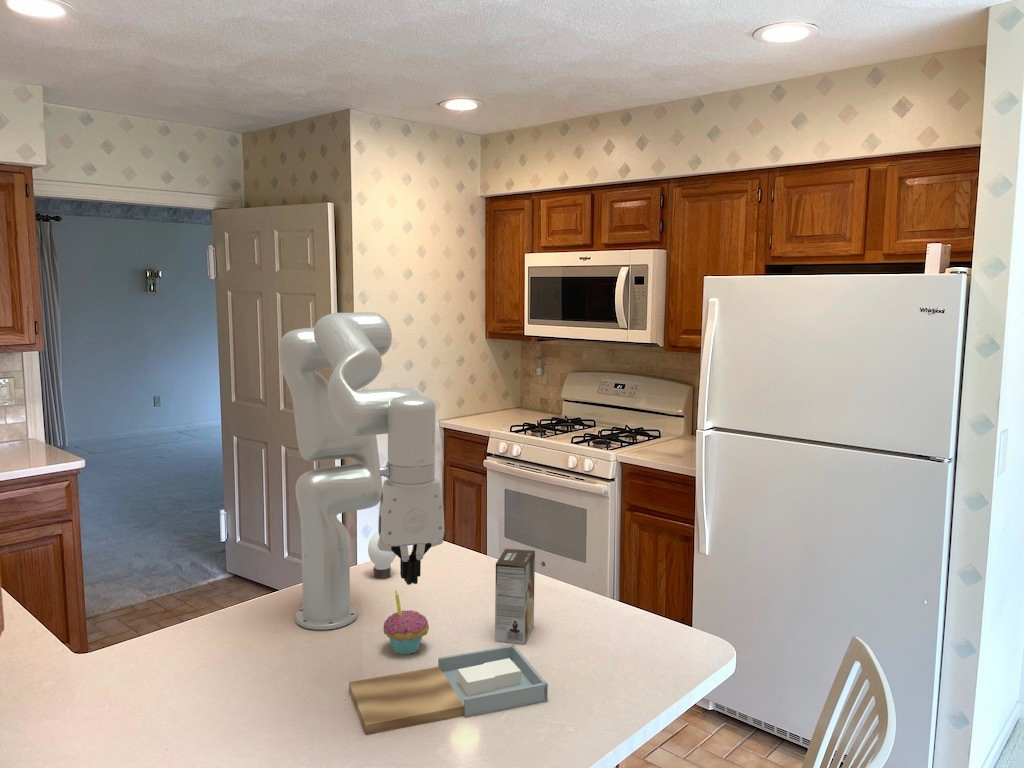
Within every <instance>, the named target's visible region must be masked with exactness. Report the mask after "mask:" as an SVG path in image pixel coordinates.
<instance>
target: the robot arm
mask: <svg viewBox="0 0 1024 768" xmlns="http://www.w3.org/2000/svg"><path fill="white" fill-rule="evenodd" d="M392 335H393V334H392V328H391V326H390V324H389V322H388V321H387V319H386V318H385V317H384V316H382V314H380V313H378V312H377V313H376V312H370V311H369V312H365V311H364V312H363V311H362V312H335V313H329V314H326V315H324V316H323V317H321V318H320V319H318V320H317V322H316V323H315V325H314V327H306V328H305V327H303V328H298V329H293V330H290V331H288V332H286V333H284V335H283V336H282V338H281V339H280V342H279V347H278V357H279V363H280V368H281V372H282V374H283V378H284V380H285V382H286V384H287V386H288V388H289V392H290V395H291V399H292V405H293V408H292V409H293V415H294V423H295V432H296V440H297V447H298V451H299V453H300V456H301V457H302V459H304V460H305V461H308V462H328V461H329V462H330V461H335V460H345V459H350V460H351V462H352V464H347V465H346V464H345V465H335V466H327V467H319V468H316V469H315V468H314V469H312V470H308V471H306V472H304V473H302V474H301V475H299V477H298V479H296V480H297V481H296V482H295V483H296V484H295V497H296V503H297V507H298V513H299V520H300V521H299V522H300V535H301V542H300V543H301V572H302V574H301V576H302V578H301V579H302V606H301V607H300V608H299V609H298V610H297V611H296V612H295V614H294V615H295V617H294V619H295V623H296V624H297V625H299V626H300V627H301V628H302V627H303V628H305V629H308V630H317V631H326V630H333V629H338V628H342V627H345V626H347V625H350V624H351V623H353V622H354V621H355V620H356V619H357V618H358V616H359V615H358V608H357V606H356V605H354V604H353V603H352V602H351V593H350V592H351V591H350V590H351V588H350V587H351V586H350V585H351V584H350V580H351V579H350V576H351V575H350V572H351V571H350V535H349V534H350V533H349V531H348V529H347V527H346V526H345V525H344V523H342V522H341V521H340V520H339V518H338V517H337V516H338V515H339V514H344V513H349V512H354V511H360V510H361V511H362V510H366V509H371V508H374V507H376V506H377V505H379V508H378V521H377V522H378V525H377V530H378V531H377V532H379V536H380V537H379V541H378V545H377V546H378V548H379V550H381V551H388V552H394V553H395V554H396V557H398V558H399V560H400V566H399V569H400V570H399V571H400V578H401V579H403V580H404V581H405V583H406V585H407V586H410V585H417V584H418V579H419V578H418V577H421V568H422V567H421V565H422V564H421V560H422V559H423V558H424V557H425V554H426V553H427V552H428V551H429V550H430V549H431V548H433V547H437V546H440V545H442V544H443V543H444V535H445V512H444V510H445V509H444V501H443V491H442V486H441V482H440V480H439V479H438V478H437V477H436V476H435V472H436V471H435V469H436V462H435V461H436V404H435V401H434V400H433V399H432V398H430V397H428V396H425V395H421V394H420V393H419V392H418V391H417V390H415V389H413V388H410V387H397V388H395V387H393V388H380V389H379V388H378V389H376V388H375V389H364V390H360V389H362V388H364V387H366V386H368V385H369V384H370V383H372V382H373V381H374V380H375V379H376V378H377V377H378V375H380V372H381V369H382V364H383V361H382V357H383V356H384V355H385V354H387V352H389V349H390V348H391V346H392V345H391V344H392V339H393V337H392ZM317 370H318V371H319V370H332V372H331V374H330V376H329V380H327V378H325V377H324V376H323V375H322V374H321V373H320V372H318V371H317ZM377 435H387V461H386V464H385V466H383V467H381V464H380V456H379V447H378V439H377ZM382 477H384V478H386V479H385V480H384V481H383V480H382V479H383V478H382ZM409 546H412V547H411V552H410V553H409Z"/></svg>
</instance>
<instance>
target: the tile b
mask: <svg viewBox="0 0 1024 768" xmlns="http://www.w3.org/2000/svg"><path fill="white" fill-rule="evenodd" d="M483 664H485V666H486V667H487V668H488V669H489V670H490V672H491V673H492V674H493V675H494V676H495V689H499V688H504V687H508V686H513V685H518V684H521V670H520V669H519V668H518V667H517V666H516V665H515V664H514V663H513V662H512V661H511V659H510V658H508V659H503V660H497V661H492V662H487V663H483Z"/></svg>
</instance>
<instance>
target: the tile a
mask: <svg viewBox="0 0 1024 768" xmlns="http://www.w3.org/2000/svg"><path fill="white" fill-rule="evenodd" d="M457 682H458V684H459V685H460V687H461V688H462V689H463V691H464V692H465V693H466V695H467V696H471V695H476V694H480V693H485V692H490V691H494V690H495V676H494V675H493V674H492V673H491V672H490V670H489V669H488V668H487V667H486V666H485V664H482V665H477V666H472V667H467V668H462V669H457Z"/></svg>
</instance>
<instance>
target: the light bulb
mask: <svg viewBox="0 0 1024 768" xmlns="http://www.w3.org/2000/svg"><path fill="white" fill-rule="evenodd" d="M379 537H380V536H379V532H378V531H377V532H375V533H374V534H373V535H372V536H371V537H370V540H369V541H368V548H367V552H368V557H369V560H370V561H371V562H372V563H373V565H374V566H373V570H372V573H373V577H374V578H376V579H379V580H380V579H382V580H385V579H389V578H391V576H392V575H391V572H392V567H391V565H392V563H393V562H394V560H395V558H396V557H397V555H396V554H395V553H394V552H388V551H381V550H379V548H378V546H377V545H378V541H379Z"/></svg>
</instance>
